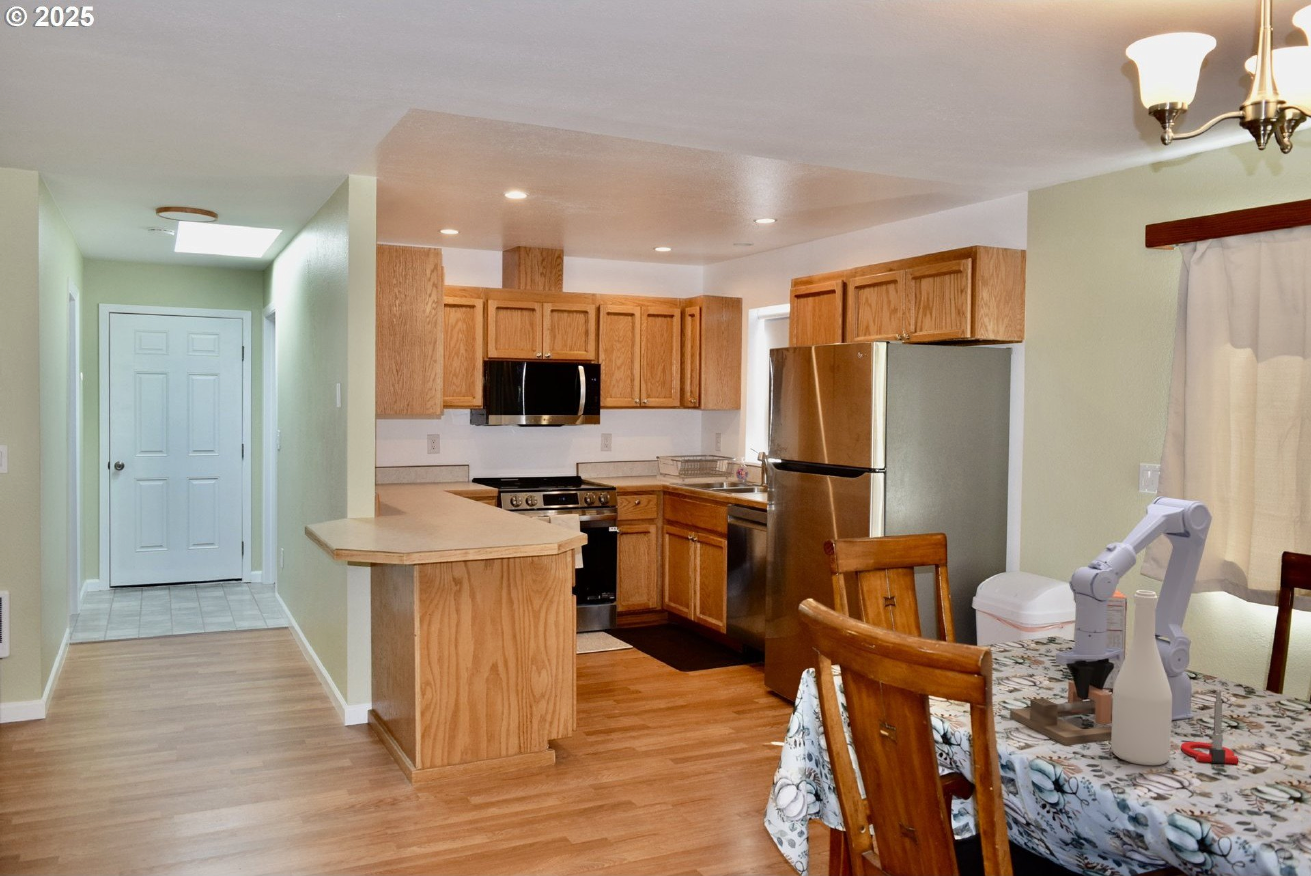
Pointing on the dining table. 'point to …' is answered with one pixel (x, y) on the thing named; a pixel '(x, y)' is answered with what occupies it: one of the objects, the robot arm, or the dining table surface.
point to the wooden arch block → (1097, 695)
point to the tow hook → (1215, 749)
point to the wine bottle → (1142, 694)
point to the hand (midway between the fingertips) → (1088, 697)
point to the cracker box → (1116, 632)
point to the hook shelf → (1061, 721)
